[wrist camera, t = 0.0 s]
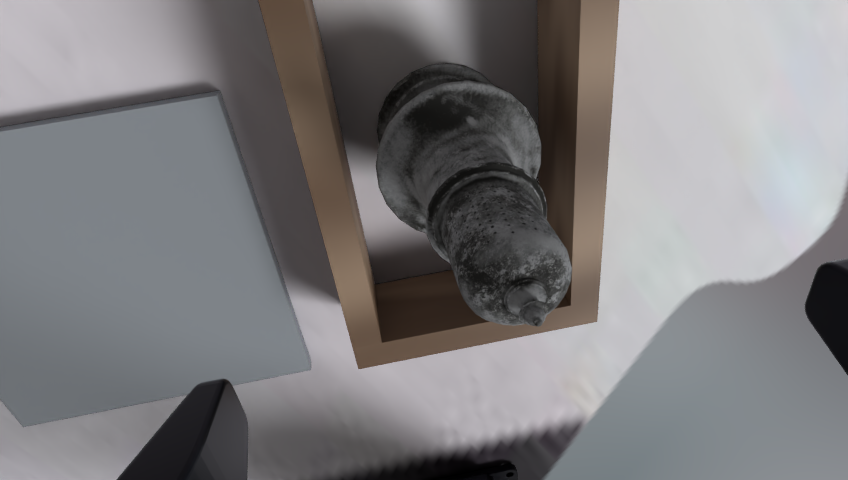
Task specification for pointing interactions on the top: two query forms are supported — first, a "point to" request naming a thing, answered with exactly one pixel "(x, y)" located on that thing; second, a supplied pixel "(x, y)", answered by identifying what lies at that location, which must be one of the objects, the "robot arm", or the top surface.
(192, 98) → the slate mat
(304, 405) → the top surface
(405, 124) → the grey tall turned piece
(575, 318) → the brown wooden u-shaped frame
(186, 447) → the robot arm
